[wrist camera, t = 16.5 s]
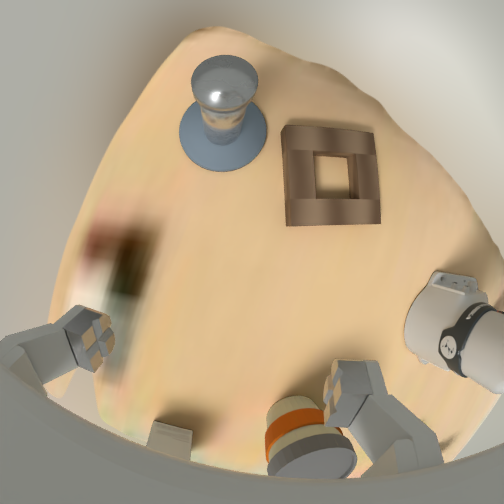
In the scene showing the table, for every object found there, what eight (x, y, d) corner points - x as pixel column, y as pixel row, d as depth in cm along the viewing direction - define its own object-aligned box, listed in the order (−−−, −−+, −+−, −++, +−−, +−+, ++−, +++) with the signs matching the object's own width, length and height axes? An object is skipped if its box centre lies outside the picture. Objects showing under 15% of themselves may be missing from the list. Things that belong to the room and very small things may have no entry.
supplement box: (153, 419, 39) (138, 469, 26) (194, 430, 40) (190, 482, 27) (149, 443, 39) (137, 491, 26) (187, 453, 40) (182, 502, 28)
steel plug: (243, 109, 35) (256, 55, 21) (245, 148, 35) (259, 107, 21) (200, 111, 34) (192, 56, 20) (200, 150, 35) (190, 109, 21)
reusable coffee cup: (263, 444, 41) (278, 504, 27) (248, 398, 40) (261, 464, 25) (327, 426, 43) (357, 479, 28) (322, 377, 41) (360, 433, 26)
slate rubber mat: (263, 94, 35) (263, 92, 35) (267, 170, 37) (268, 169, 36) (181, 97, 34) (180, 94, 33) (180, 174, 35) (179, 173, 35)
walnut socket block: (363, 138, 38) (373, 133, 35) (370, 223, 39) (380, 224, 36) (280, 131, 36) (285, 125, 33) (286, 226, 38) (291, 226, 35)
